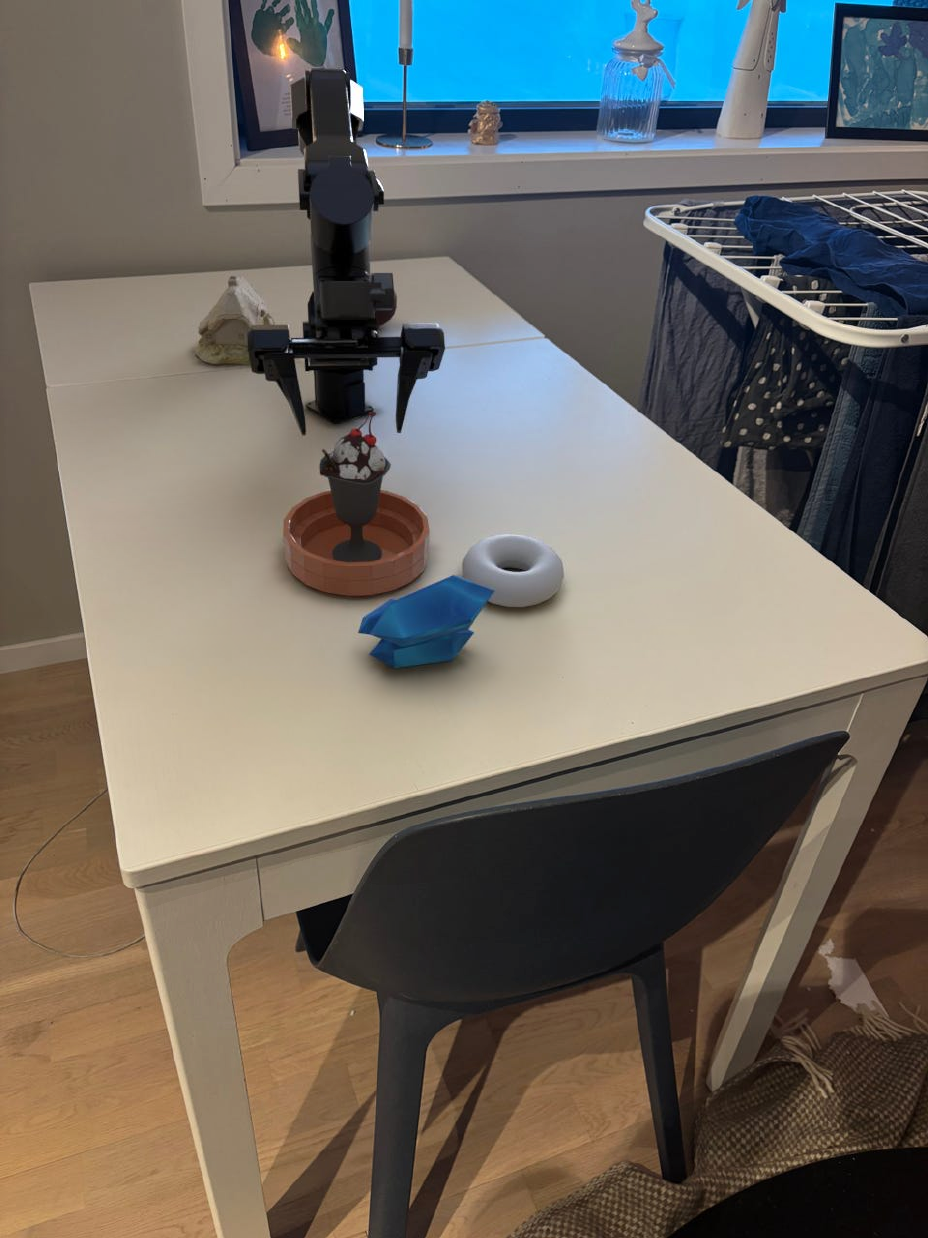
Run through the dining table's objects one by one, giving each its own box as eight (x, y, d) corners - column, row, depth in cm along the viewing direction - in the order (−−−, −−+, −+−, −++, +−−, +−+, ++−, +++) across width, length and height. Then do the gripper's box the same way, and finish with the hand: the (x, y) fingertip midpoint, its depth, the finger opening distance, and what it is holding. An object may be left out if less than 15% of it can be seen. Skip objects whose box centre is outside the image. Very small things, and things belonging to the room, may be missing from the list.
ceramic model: (270, 369, 129) (264, 296, 123) (188, 364, 129) (179, 291, 123) (286, 331, 140) (282, 263, 134) (212, 326, 140) (204, 258, 134)
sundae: (400, 544, 96) (402, 408, 86) (374, 579, 91) (372, 438, 81) (341, 529, 97) (337, 394, 88) (312, 563, 92) (304, 424, 83)
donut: (443, 569, 94) (491, 624, 87) (444, 540, 92) (493, 594, 85) (529, 548, 98) (581, 599, 91) (532, 519, 95) (586, 569, 88)
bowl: (258, 551, 94) (254, 517, 92) (368, 506, 102) (368, 473, 100) (344, 618, 86) (342, 583, 84) (456, 564, 94) (458, 530, 92)
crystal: (339, 581, 79) (472, 536, 81) (364, 653, 85) (486, 610, 87) (359, 634, 74) (501, 585, 75) (384, 707, 79) (515, 660, 81)
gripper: (238, 236, 83) (247, 405, 81) (446, 237, 86) (459, 401, 84) (248, 295, 94) (256, 445, 92) (432, 294, 97) (443, 440, 95)
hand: (352, 432), depth 91 cm, fingers open, 9 cm apart
